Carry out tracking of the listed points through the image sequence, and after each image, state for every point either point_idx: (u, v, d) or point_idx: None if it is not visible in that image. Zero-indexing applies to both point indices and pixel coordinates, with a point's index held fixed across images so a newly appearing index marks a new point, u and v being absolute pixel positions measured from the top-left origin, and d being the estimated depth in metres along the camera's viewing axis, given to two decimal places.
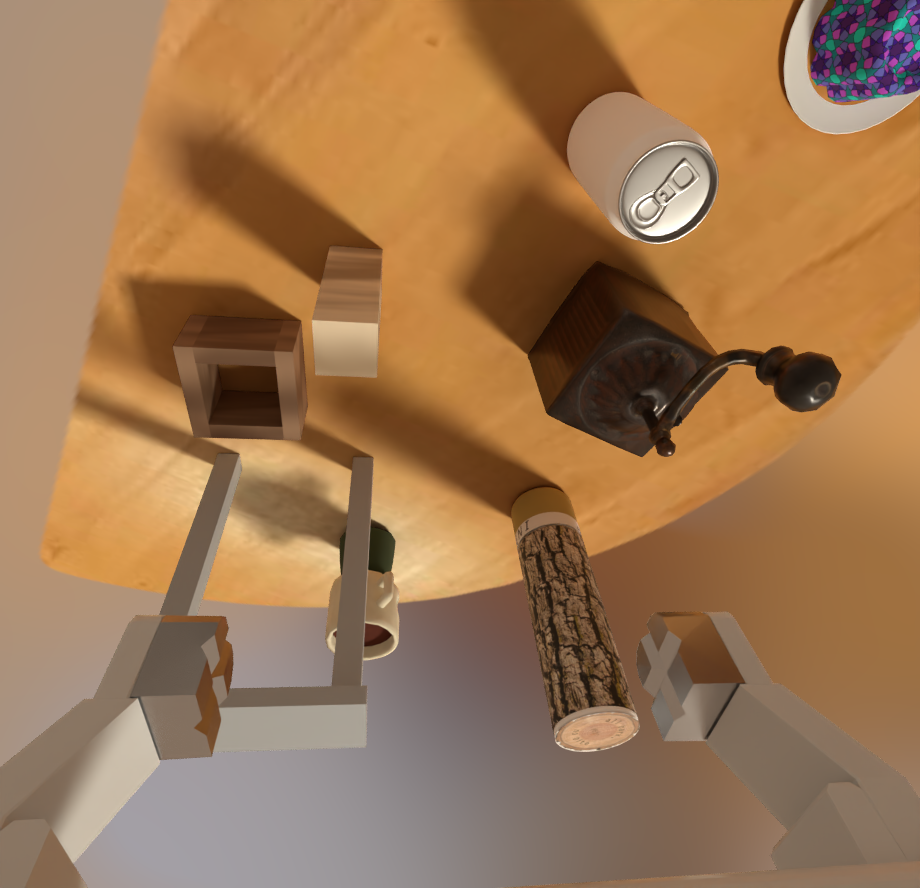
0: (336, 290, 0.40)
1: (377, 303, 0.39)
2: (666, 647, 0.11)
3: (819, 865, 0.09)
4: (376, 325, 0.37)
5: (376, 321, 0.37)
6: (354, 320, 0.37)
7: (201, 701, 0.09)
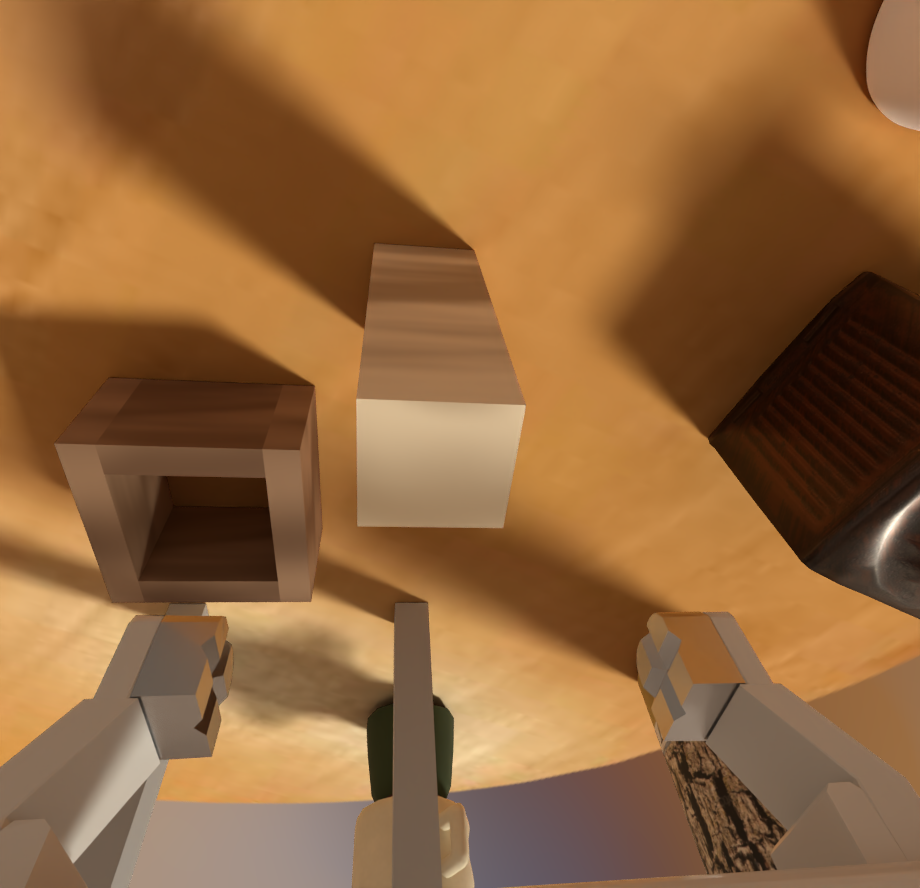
0: (403, 324, 0.17)
1: (505, 353, 0.16)
2: (666, 647, 0.11)
3: (819, 865, 0.09)
4: (522, 409, 0.14)
5: (520, 399, 0.14)
6: (464, 396, 0.14)
7: (201, 701, 0.09)
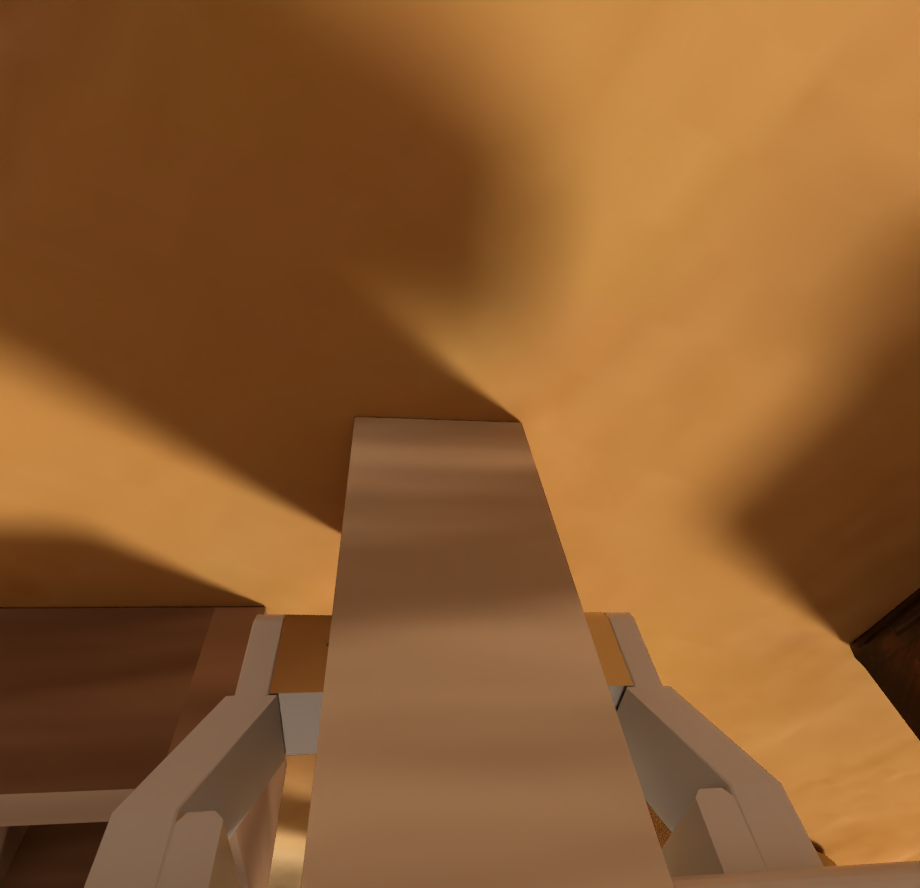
0: (406, 725, 0.08)
1: (654, 853, 0.07)
2: None
3: (689, 873, 0.08)
4: None
5: None
6: None
7: None
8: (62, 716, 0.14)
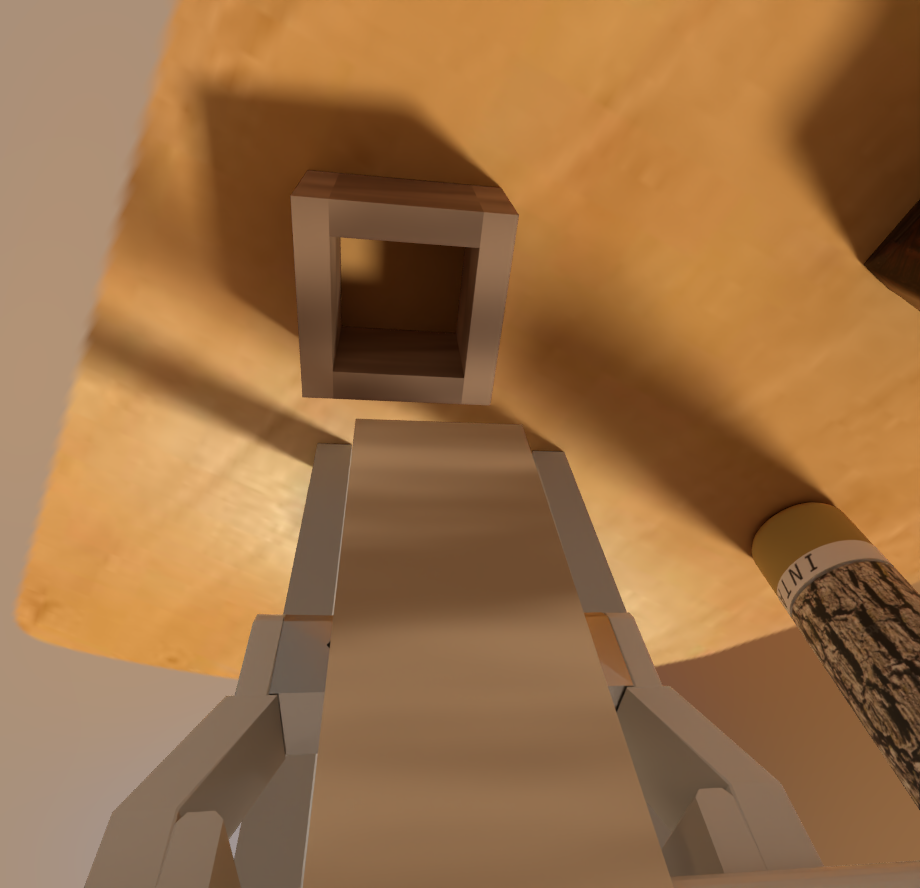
0: (407, 728, 0.08)
1: (655, 856, 0.07)
2: None
3: (689, 873, 0.08)
4: None
5: None
6: None
7: None
8: (415, 196, 0.24)
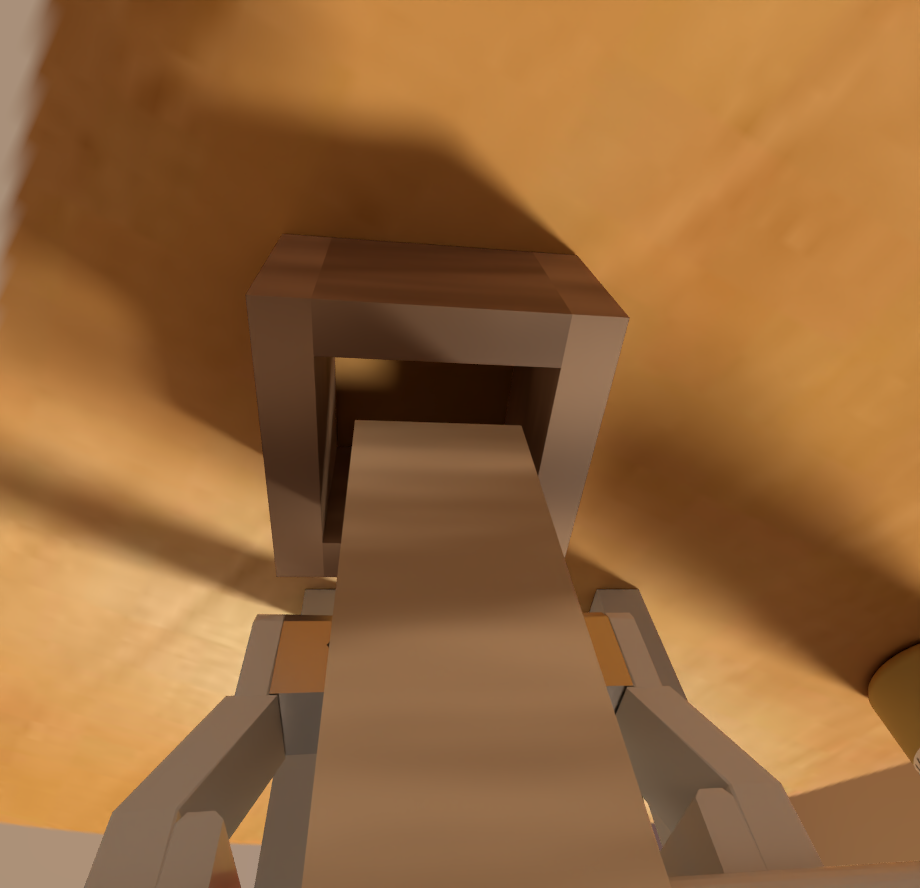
0: (406, 730, 0.08)
1: (653, 858, 0.07)
2: None
3: (689, 873, 0.08)
4: None
5: None
6: None
7: None
8: (453, 282, 0.15)
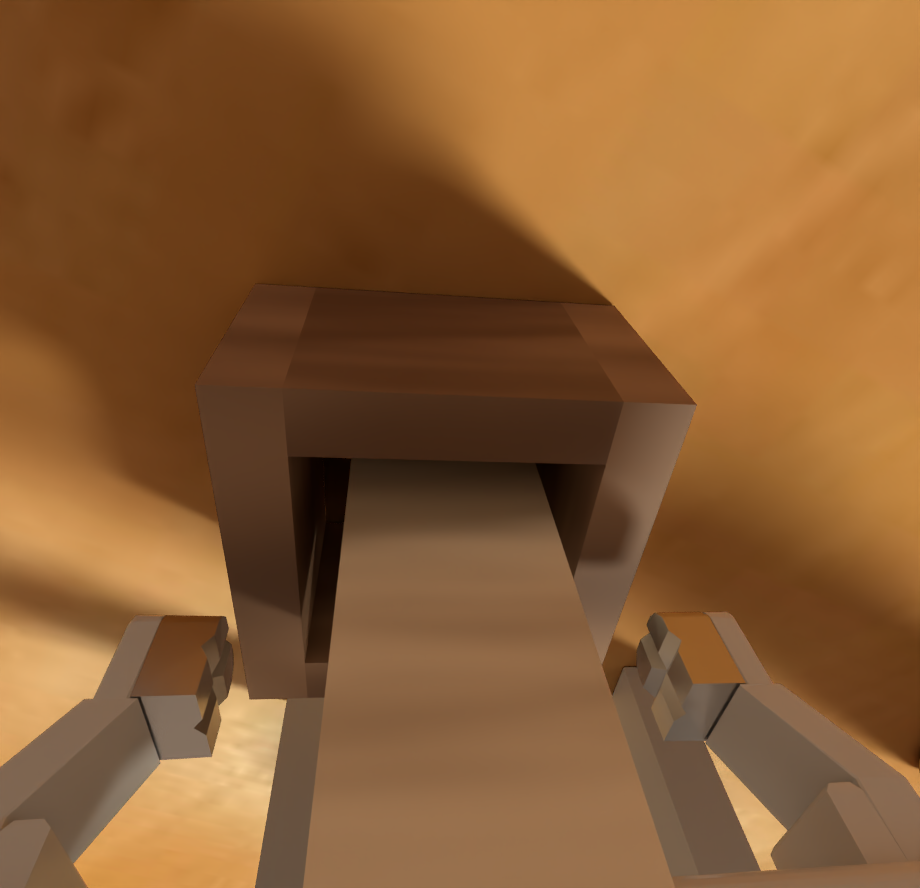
0: (405, 606, 0.09)
1: (605, 695, 0.08)
2: (666, 647, 0.11)
3: (819, 865, 0.09)
4: None
5: None
6: None
7: (201, 701, 0.09)
8: (468, 353, 0.12)
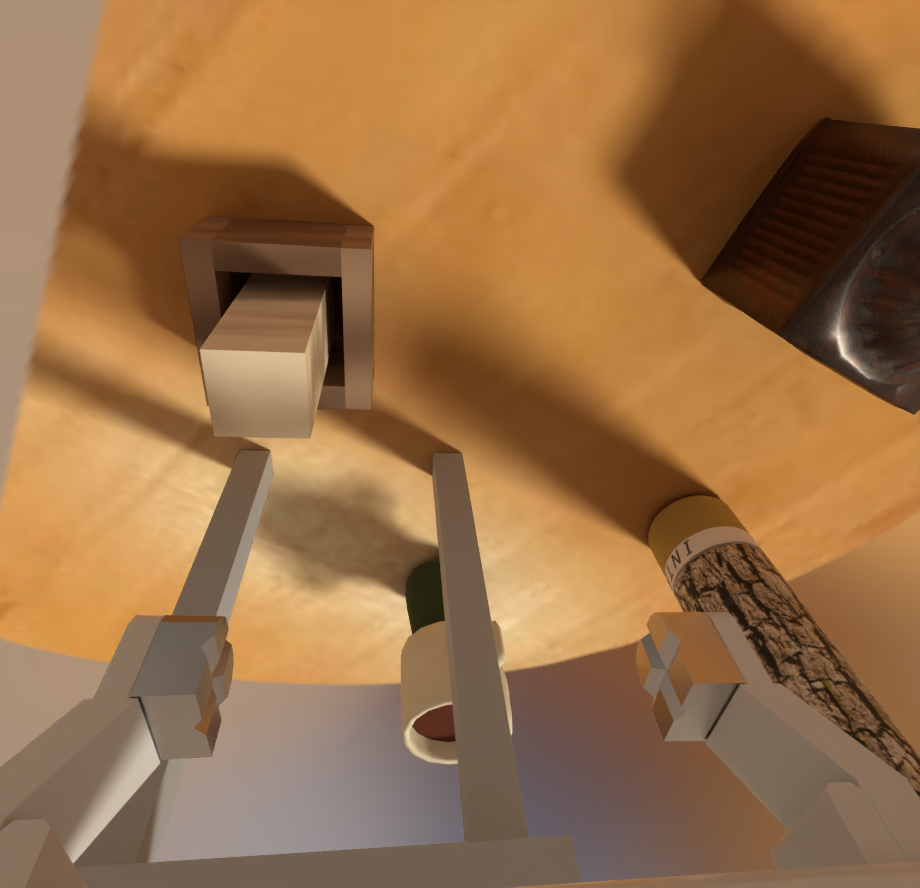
0: (251, 311, 0.27)
1: (310, 327, 0.26)
2: (666, 647, 0.11)
3: (819, 865, 0.09)
4: (302, 356, 0.23)
5: (303, 350, 0.24)
6: (267, 348, 0.23)
7: (201, 701, 0.09)
8: (289, 236, 0.29)
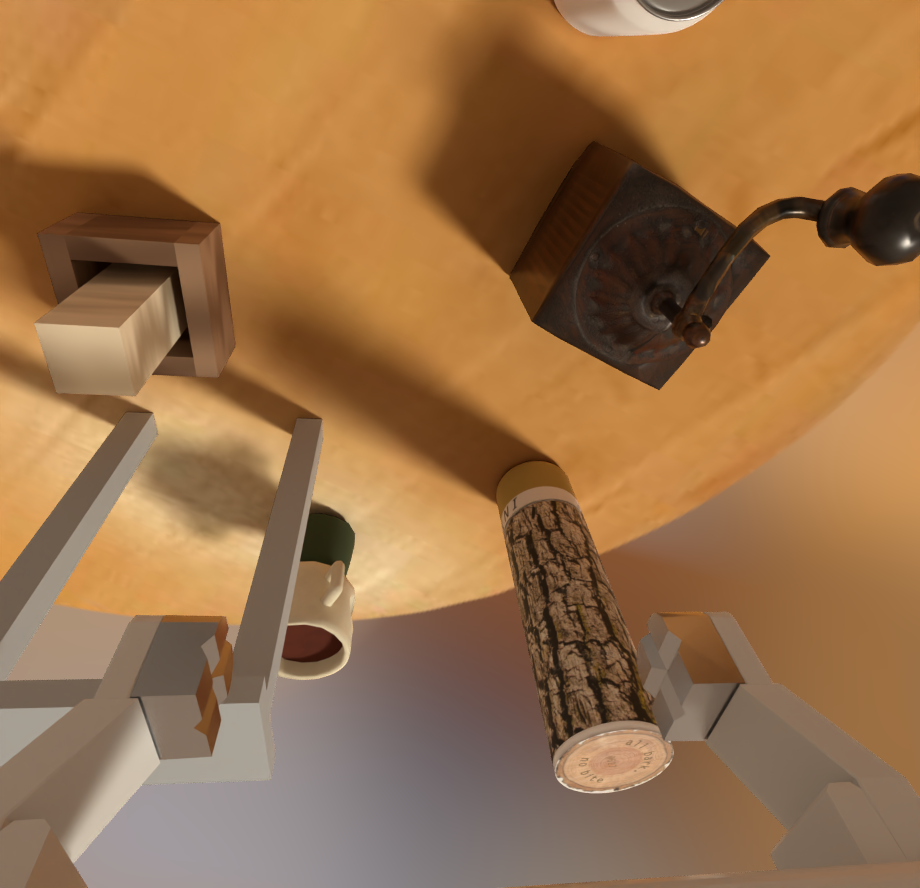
0: (94, 293, 0.33)
1: (136, 307, 0.32)
2: (666, 647, 0.11)
3: (819, 865, 0.09)
4: (118, 330, 0.30)
5: (119, 325, 0.30)
6: (90, 323, 0.30)
7: (201, 701, 0.09)
8: (136, 231, 0.36)
